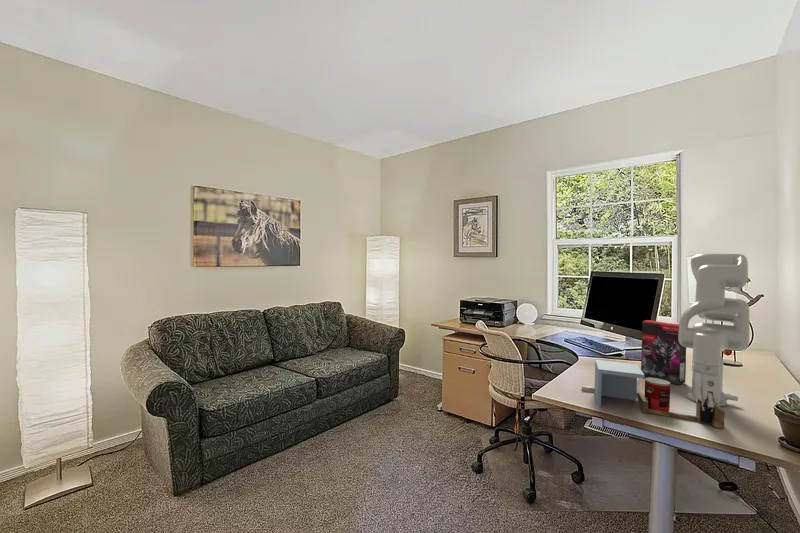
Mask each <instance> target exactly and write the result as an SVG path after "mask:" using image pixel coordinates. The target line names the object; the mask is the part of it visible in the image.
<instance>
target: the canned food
mask: <svg viewBox="0 0 800 533" xmlns="http://www.w3.org/2000/svg"><path fill="white" fill-rule="evenodd" d="M644 396H645V398H646V399H647V401H648V409H653V410H659V411H666V412H670V407H671V406H670V402H671V382H668V381H666V380H663V379H659V378H651V377H644Z"/></svg>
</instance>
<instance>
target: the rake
mask: <svg viewBox="0 0 800 533" xmlns="http://www.w3.org/2000/svg"><path fill="white" fill-rule="evenodd" d="M707 402H708V401H707ZM637 403H638V406H639V407H640V409H641V411H642V412H643V413H646V414H652V415H653V414H654V415H659V416H666V417H670V418H671V417H673V418H677V419H685V420H691V421H698V422H699V423H702V424H706V423H705V422H701V421H700V410H702V402H697V404H696V405H697V407H696V409H695V415H692V414H690V415H689V414H686V413H685V414H684V413H679V412H673V411H672V412H671V411H669V412H666V411H659V410H653V409H648V401H647V399H646V398H645V394H644V393H643V392H641V391H640V392H638V393H637ZM713 404H714V408H713V412H712V423H707V424H708V425H712V426H713V427H714V428H717V429H722V430H723V429H725V419H726V418H725V414H726V413H725V412H726V411H725V410H724V409H723V408H722V406H719V405H716V404H715V403H714V402H713ZM705 405H707V404H705Z"/></svg>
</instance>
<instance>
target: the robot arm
mask: <svg viewBox="0 0 800 533" xmlns="http://www.w3.org/2000/svg"><path fill="white" fill-rule="evenodd" d="M748 265H749V263H748V258H747V257H746V256H745V255H744V254H740V253H700V254H696V255H694V256H692V257H691V259H690V267H691V272H692V275H693V276H694V277H693V278H694V279H695V282H696V284H695V286H696V287H695V301H694V303H693V304H691V305H690V306H689V307H687V308H686V309H685V310H684V311H683V313H682V315H681V316H680V319H679V323H678V324H679V334H678V339H679V343H680V344H681V345H682V346H683V347H686V349H687V348H688V349H692V361H691V362H692V364H691V365H692V366H691V370H692V371H691V372H692V379H691V392H688V393H686V397H687V398H688V399H689V400H690V401H693V402H696V407H697V402H702V410H700V421H701V422H705V423H704V424H708V423H712V412H713V408H714V404H713V402H714V403H715V404H716V405H719V406H720V407H725V406H727V405H728V401H732V402H733V401H734V402H737V401H738V400H739V398H738V396H737V395H733V394H731V393H725V392H724V391H723V383H724V382H723V381H724V376H723V375H724V359H723V356H722V354H721V353H722V352H724V351H725V350H730V351H737V352H742V351H743V352H744V351H746V350H747V349H748V348H749V345H750V307H749V303H748V302H747V301H745V300H744V299H740V298H733V297H732V298H729V297H725V296H726V295H725V294H726V293H725V292H726V288H744V287H745V286H746V285H747V282H748V277H749V269H748V268H749V266H748ZM695 316H698V317H699V318H700V319H703V320H708V321H715V322H722V323H723V322H724V323H731V324H733V325H728V324H720V323H719V324H718V323H710V322H699V323H695V324H693V325H692V327H689V323H690V321H691V319H692V318H694V317H695ZM707 401H708V402H707ZM705 404H707V405H705ZM701 422H700V423H701Z"/></svg>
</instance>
